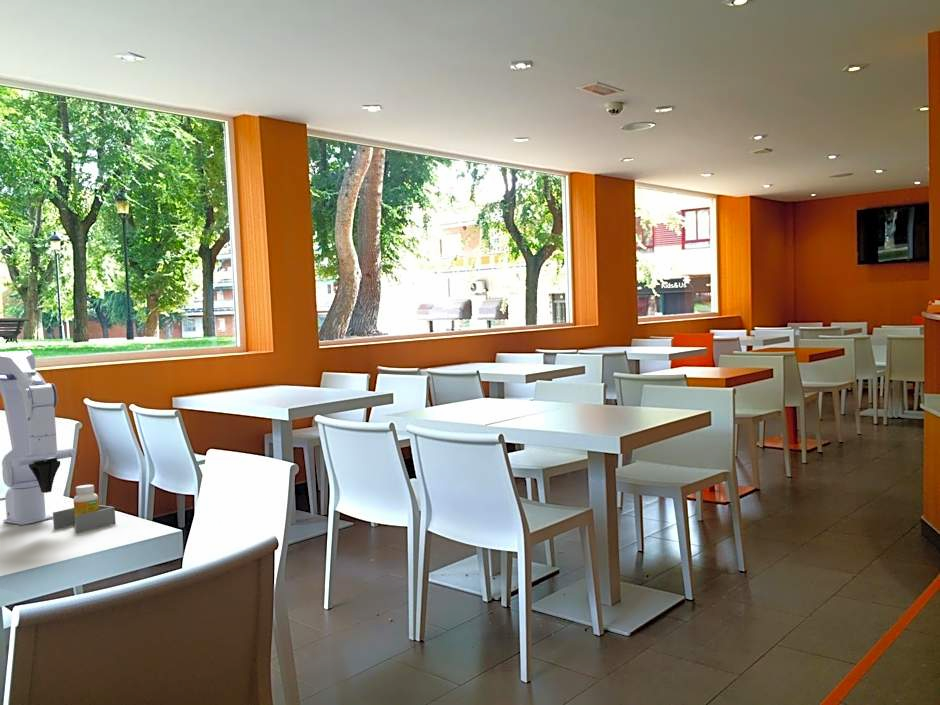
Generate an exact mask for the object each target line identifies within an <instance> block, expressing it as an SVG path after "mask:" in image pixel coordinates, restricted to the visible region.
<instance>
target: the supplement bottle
mask: <svg viewBox="0 0 940 705" xmlns="http://www.w3.org/2000/svg"><path fill="white" fill-rule="evenodd" d="M75 492H76V495H75V496H74V498H73V508H74V513H75V516H77V515H81V514H85V513H89V512H94V511H98V510H99V505H100V504H99V496H98V494H97V493H95V486H94V484H84V485H78V486H76V487H75Z"/></svg>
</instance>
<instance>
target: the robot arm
mask: <svg viewBox="0 0 940 705" xmlns="http://www.w3.org/2000/svg"><path fill="white" fill-rule="evenodd" d="M57 391H58V390H57V387H56V386H55V384H54V383H52V382H51V383H47V382H46V380H45V379H44V378H43V376H42V375H41V374H40V373H39V372H38V371H36V358H35V355H34V353H33V352H32V351H31V349H26V350H17V351H0V395H1V398H2V401H3V407H4V411H5V412H4V413H5V417H6V423H7V429H8V434H9V439H10V444H11V450H10V451H8V453H7V454H5V455H4V457H3V458H2V461H1V466H2V479H3V483H4V485H5V486H6V487H8V488H9V489H7V491H6V493H5V496H4V497H5V513H6V514H5V515H6V518H5V519H2V521H3V522H4V523H10V524H14V525H20V526H24V525H29V524H33V523H36V522H41V521H47V520H49V519H53V515H51V514H50V515H48V514H46V503H45V501H46V500H45V494H47V493H52V489H53V484H54V480H55V478H56V477H55V476H56V475H57V472H58V470H59V468H60V466H61V461H60V460H62V459H66V458H68V459H69V458H75V457H76V456H77V455H76V453H77V452H76V449H75V448H67V449H59V450H58V443H57V441H58V440H57V429H56V428H57V427H56V415H55V414H56V411H55V410H56V409H55V408H57V405H58V392H57Z"/></svg>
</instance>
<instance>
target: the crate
mask: <svg viewBox="0 0 940 705" xmlns="http://www.w3.org/2000/svg"><path fill="white" fill-rule="evenodd" d="M115 508H116V507H115V506H110V505H109V506H108V505H104V504H103V505H102V504H99V510H98V511H94V512H89V513H85V514H81V515H77V516H75V513H74V507H70V508H67V509H62V510H57V511H54V512H52V516H53V518H52V519H53V521H52V522H53V530H57V529H63V528H65V527H70V526H73V525H74V530H75V531H74V532H75V534H79V533H83V532H86V531H90V530H95V529H99V528H103V527H107V526H110V525H114V524H116V509H115Z"/></svg>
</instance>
